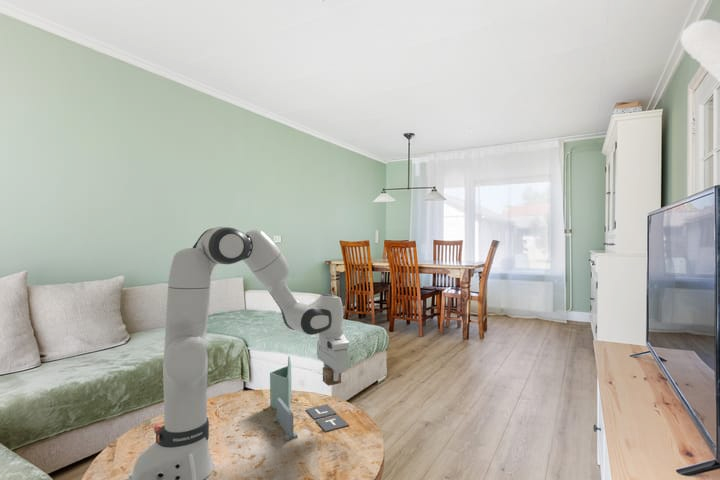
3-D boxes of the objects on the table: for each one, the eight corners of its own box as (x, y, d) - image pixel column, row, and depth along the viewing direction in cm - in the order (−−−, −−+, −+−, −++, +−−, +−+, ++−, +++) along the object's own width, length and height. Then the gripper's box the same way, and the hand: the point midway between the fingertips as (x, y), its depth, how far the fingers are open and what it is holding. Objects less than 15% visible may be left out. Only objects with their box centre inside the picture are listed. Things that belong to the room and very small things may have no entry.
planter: (272, 398, 157) (272, 351, 157) (291, 396, 158) (291, 350, 158) (267, 415, 141) (267, 363, 141) (288, 414, 142) (288, 362, 142)
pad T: (325, 432, 128) (325, 430, 128) (315, 421, 136) (315, 419, 136) (349, 425, 132) (349, 424, 132) (338, 415, 140) (338, 414, 140)
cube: (327, 385, 131) (327, 371, 131) (322, 381, 135) (322, 367, 135) (341, 383, 133) (341, 368, 133) (335, 378, 138) (335, 364, 138)
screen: (286, 440, 123) (285, 416, 123) (272, 420, 137) (272, 398, 137) (297, 437, 125) (297, 413, 125) (283, 418, 139) (283, 396, 139)
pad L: (314, 419, 137) (314, 418, 137) (305, 410, 145) (305, 408, 145) (336, 414, 141) (336, 412, 141) (327, 405, 149) (327, 403, 149)
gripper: (312, 334, 142) (312, 370, 142) (334, 346, 124) (335, 388, 124) (327, 332, 145) (328, 367, 145) (351, 344, 127) (352, 384, 127)
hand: (331, 377), depth 134 cm, fingers closed on cube, 5 cm apart
